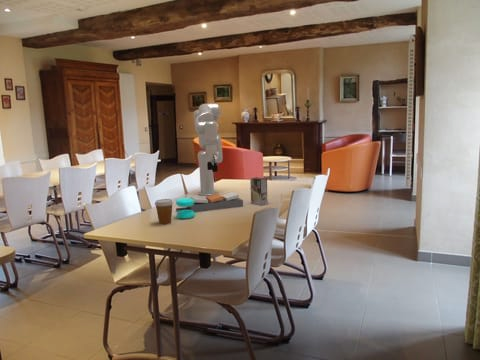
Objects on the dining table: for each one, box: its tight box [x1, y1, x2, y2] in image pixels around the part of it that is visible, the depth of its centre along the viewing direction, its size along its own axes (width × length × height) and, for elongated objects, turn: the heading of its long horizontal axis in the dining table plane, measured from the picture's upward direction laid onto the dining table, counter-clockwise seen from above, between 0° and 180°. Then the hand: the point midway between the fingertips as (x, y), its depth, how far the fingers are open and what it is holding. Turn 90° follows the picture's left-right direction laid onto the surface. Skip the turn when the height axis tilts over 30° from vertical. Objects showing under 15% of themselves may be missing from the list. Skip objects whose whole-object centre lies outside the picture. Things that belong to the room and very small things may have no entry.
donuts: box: [175, 197, 196, 220], centre depth 223 cm, size 10×10×10 cm
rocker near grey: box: [190, 195, 208, 203], centre depth 241 cm, size 10×8×2 cm
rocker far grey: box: [220, 191, 240, 201], centre depth 248 cm, size 10×8×2 cm
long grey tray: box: [175, 197, 244, 213], centre depth 243 cm, size 13×40×5 cm, turn 112°
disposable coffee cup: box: [154, 198, 174, 225], centre depth 211 cm, size 10×10×12 cm
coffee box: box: [250, 176, 268, 206], centre depth 250 cm, size 9×6×16 cm
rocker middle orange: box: [205, 192, 223, 203], centre depth 244 cm, size 10×8×2 cm
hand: (212, 170), depth 244 cm, fingers open, 9 cm apart
